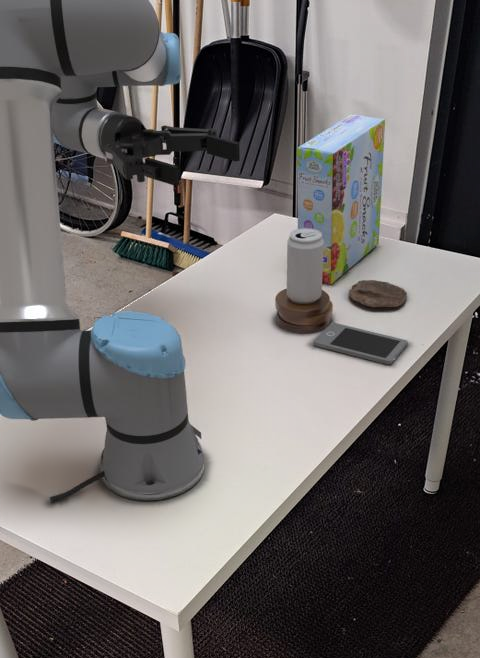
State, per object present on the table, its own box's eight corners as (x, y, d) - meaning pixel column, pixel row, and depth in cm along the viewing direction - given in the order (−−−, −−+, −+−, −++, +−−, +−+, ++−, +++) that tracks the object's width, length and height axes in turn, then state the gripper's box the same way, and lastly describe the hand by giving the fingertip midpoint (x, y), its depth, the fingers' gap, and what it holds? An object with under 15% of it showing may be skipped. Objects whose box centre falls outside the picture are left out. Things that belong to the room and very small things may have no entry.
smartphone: (408, 343, 152) (409, 340, 151) (390, 365, 146) (391, 361, 146) (332, 325, 158) (332, 321, 157) (312, 345, 152) (312, 341, 152)
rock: (406, 287, 169) (408, 274, 168) (406, 313, 160) (407, 300, 159) (350, 283, 171) (351, 271, 169) (346, 309, 162) (347, 296, 160)
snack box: (343, 238, 187) (350, 112, 170) (379, 246, 183) (390, 118, 166) (293, 276, 174) (295, 144, 156) (331, 286, 170) (337, 151, 153)
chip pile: (308, 339, 154) (308, 316, 151) (264, 322, 159) (264, 300, 156) (342, 318, 160) (344, 295, 157) (299, 302, 165) (300, 280, 162)
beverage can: (281, 293, 158) (282, 229, 150) (314, 287, 160) (316, 224, 152) (293, 308, 154) (294, 243, 146) (326, 302, 155) (329, 238, 147)
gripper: (171, 141, 151) (261, 166, 141) (61, 181, 138) (152, 212, 127) (167, 95, 146) (261, 118, 136) (53, 132, 133) (147, 160, 122)
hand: (208, 164), depth 131 cm, fingers open, 13 cm apart
